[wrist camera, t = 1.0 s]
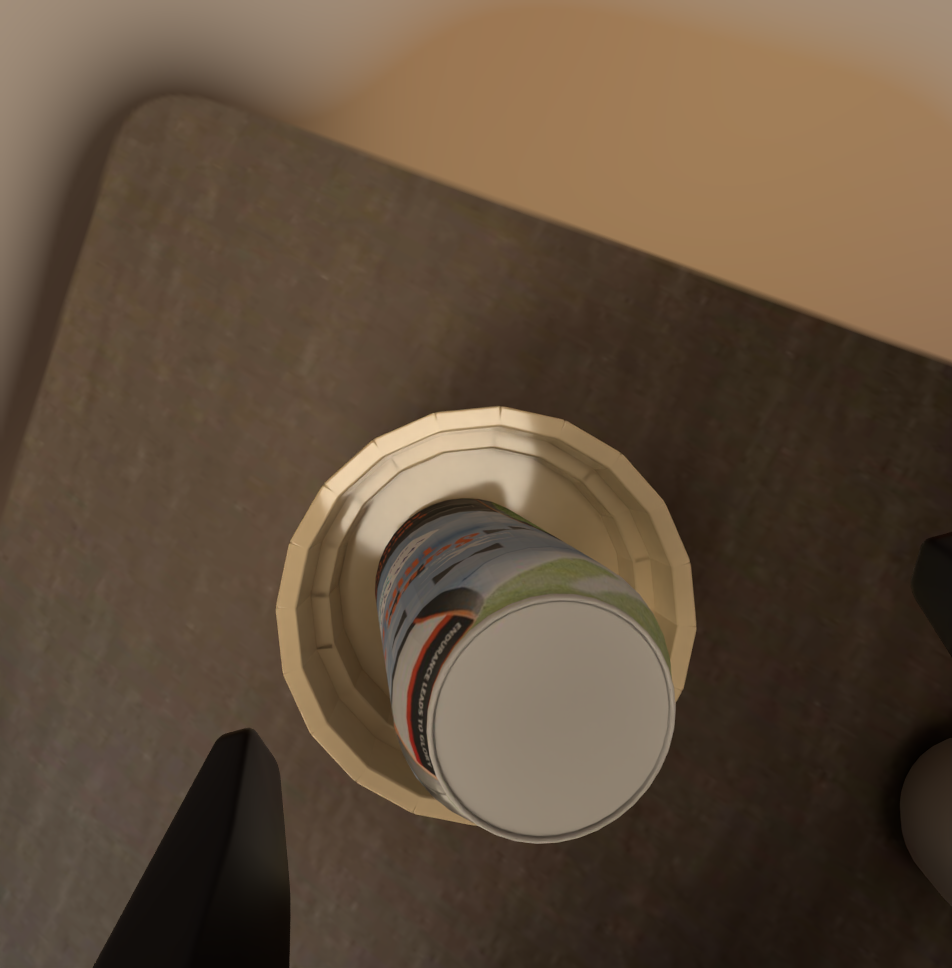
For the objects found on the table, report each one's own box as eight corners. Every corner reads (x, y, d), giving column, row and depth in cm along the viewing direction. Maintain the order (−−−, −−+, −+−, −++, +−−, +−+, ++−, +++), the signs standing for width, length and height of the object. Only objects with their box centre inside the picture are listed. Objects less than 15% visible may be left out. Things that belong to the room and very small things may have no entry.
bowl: (714, 599, 26) (779, 630, 21) (467, 823, 25) (472, 909, 20) (493, 349, 25) (505, 320, 20) (239, 576, 25) (187, 604, 20)
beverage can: (411, 473, 25) (378, 479, 13) (606, 539, 25) (755, 605, 13) (354, 642, 25) (267, 808, 13) (550, 705, 25) (647, 924, 13)
